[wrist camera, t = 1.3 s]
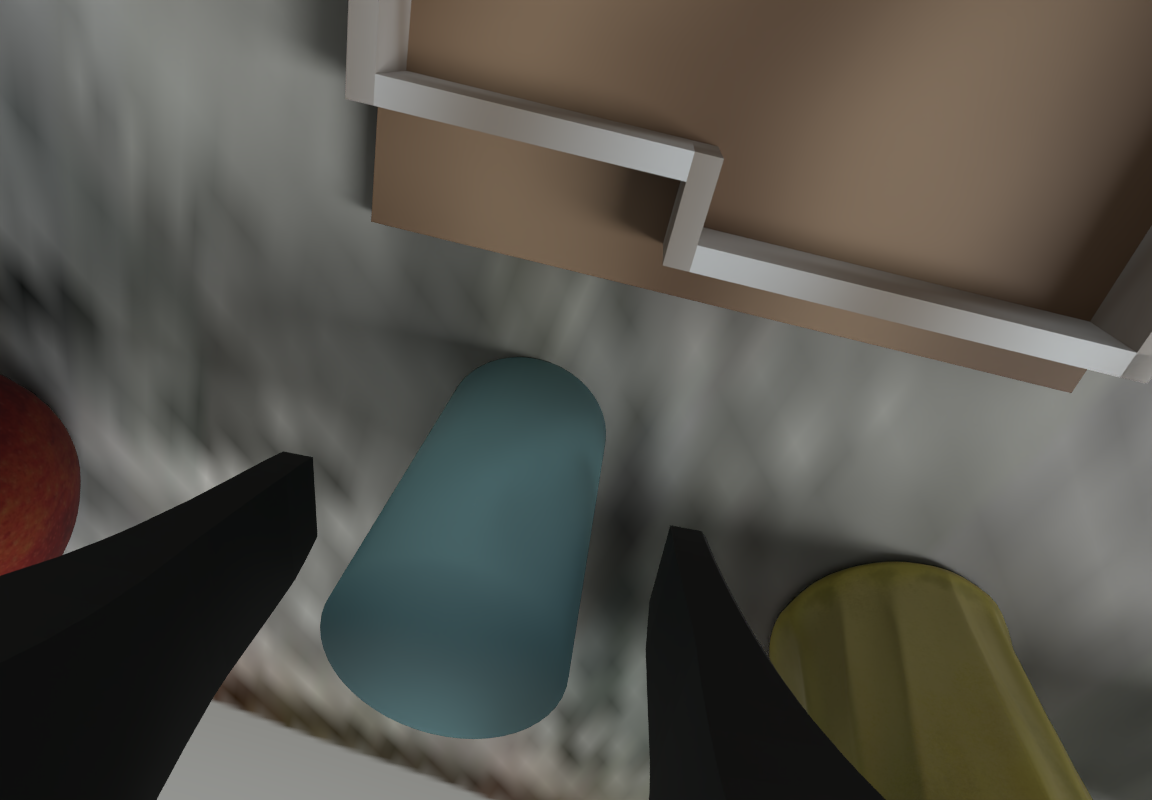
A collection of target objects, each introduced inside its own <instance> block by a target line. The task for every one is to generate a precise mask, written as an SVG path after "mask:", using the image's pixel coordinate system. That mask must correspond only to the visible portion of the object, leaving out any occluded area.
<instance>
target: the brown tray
mask: <svg viewBox="0 0 1152 800" xmlns="http://www.w3.org/2000/svg"><path fill="white" fill-rule="evenodd" d="M345 99H348V100H352V101H356V102H361V103H365V104H369V105H373V106H377V107H378V113H377V130H376V148H375V165H374V183H373V200H372V217H371V222H375V223H379V224H383V225H387V226H391V227H395V228H400V229H404V230H408V231H412V232H416V233H420V234H424V235H428V236H432V237H436V238H440V239H444V240H449V241H453V242H457V243H461V244H465V245H469V246H473V247H477V248H481V249H485V250H489V251H493V252H498V253H502V254H506V255H510V256H514V257H518V258H522V259H526V260H530V261H534V262H538V263H542V264H547V265H551V266H555V267H559V268H563V269H567V270H571V271H575V272H579V273H583V274H587V275H591V276H596V277H600V278H604V279H608V280H612V281H616V282H620V283H624V284H628V285H632V286H636V287H640V288H645V289H649V290H653V291H657V292H661V293H665V294H669V295H673V296H677V297H681V298H685V299H689V300H694V301H698V302H702V303H706V304H710V305H714V306H718V307H722V308H726V309H730V310H734V311H738V312H743V313H747V314H751V315H755V316H759V317H763V318H767V319H771V320H775V321H779V322H783V323H787V324H791V325H796V326H800V327H804V328H808V329H812V330H816V331H820V332H824V333H828V334H832V335H836V336H840V337H845V338H849V339H853V340H857V341H861V342H865V343H869V344H873V345H877V346H881V347H885V348H889V349H894V350H898V351H902V352H906V353H910V354H914V355H918V356H922V357H926V358H930V359H934V360H938V361H943V362H947V363H951V364H955V365H959V366H963V367H967V368H971V369H975V370H979V371H983V372H987V373H992V374H996V375H1000V376H1004V377H1008V378H1012V379H1016V380H1020V381H1024V382H1028V383H1032V384H1036V385H1041V386H1045V387H1049V388H1053V389H1057V390H1061V391H1065V392H1069V393H1072V391H1073V390H1074V388H1075V387H1076V385H1077V384H1078V382H1079V381H1080V379H1081V378H1082V376H1083V375H1084V373H1085V372H1086V370H1087V369H1088V370H1092V371H1096V372H1100V373H1104V374H1109V375H1113V376H1117V377H1121V378H1125V379H1129V380H1133V381H1137V382H1141V383H1145V384H1147V383H1148V382H1149V381H1150V379H1151V378H1152V0H349V1H348V30H347V58H346V87H345Z"/></svg>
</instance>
